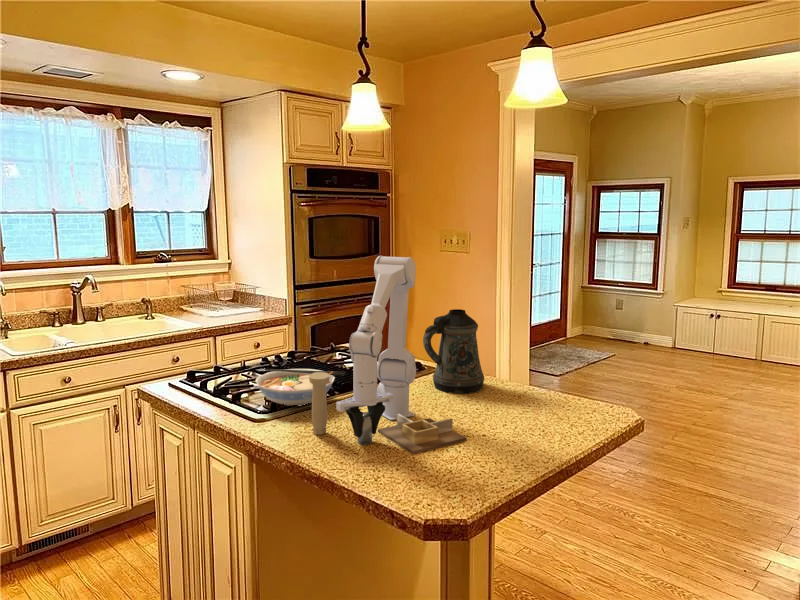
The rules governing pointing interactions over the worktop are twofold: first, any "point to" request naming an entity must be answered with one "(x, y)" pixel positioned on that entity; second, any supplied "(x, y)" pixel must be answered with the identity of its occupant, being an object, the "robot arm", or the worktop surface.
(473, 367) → the beer stein
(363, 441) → the hinge pin
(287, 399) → the ramen bowl
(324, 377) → the handle
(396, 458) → the worktop surface
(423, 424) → the hinge block
